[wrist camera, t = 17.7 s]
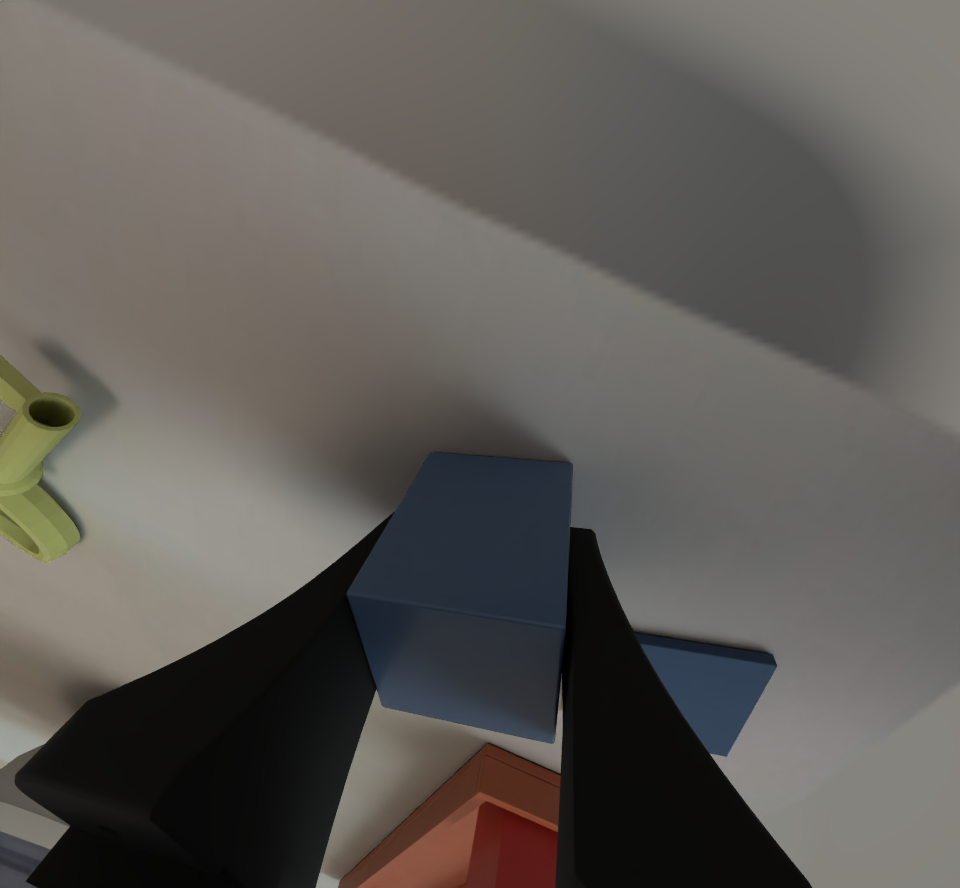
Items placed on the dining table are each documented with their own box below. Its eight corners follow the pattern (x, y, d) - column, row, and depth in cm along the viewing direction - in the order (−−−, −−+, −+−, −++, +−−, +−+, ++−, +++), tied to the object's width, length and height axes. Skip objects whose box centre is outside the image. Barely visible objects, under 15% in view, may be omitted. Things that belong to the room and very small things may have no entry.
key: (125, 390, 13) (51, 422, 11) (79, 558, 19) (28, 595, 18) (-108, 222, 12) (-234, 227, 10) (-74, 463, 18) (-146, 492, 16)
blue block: (573, 462, 11) (565, 628, 7) (564, 567, 13) (554, 746, 9) (429, 450, 12) (344, 593, 8) (442, 552, 14) (381, 707, 10)
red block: (509, 775, 20) (490, 926, 16) (582, 808, 20) (581, 965, 16) (480, 798, 22) (456, 936, 18) (546, 827, 23) (537, 970, 18)
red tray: (487, 742, 20) (479, 792, 18) (627, 804, 20) (631, 859, 19) (340, 880, 43) (330, 908, 41) (406, 908, 43) (399, 937, 41)
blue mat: (773, 653, 13) (778, 666, 13) (723, 745, 16) (726, 757, 16) (577, 623, 14) (577, 633, 14) (566, 714, 17) (566, 724, 17)
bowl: (339, 795, 29) (256, 998, 22) (244, 821, 38) (165, 967, 31) (89, 649, 25) (-116, 838, 18) (53, 719, 34) (-89, 859, 27)
